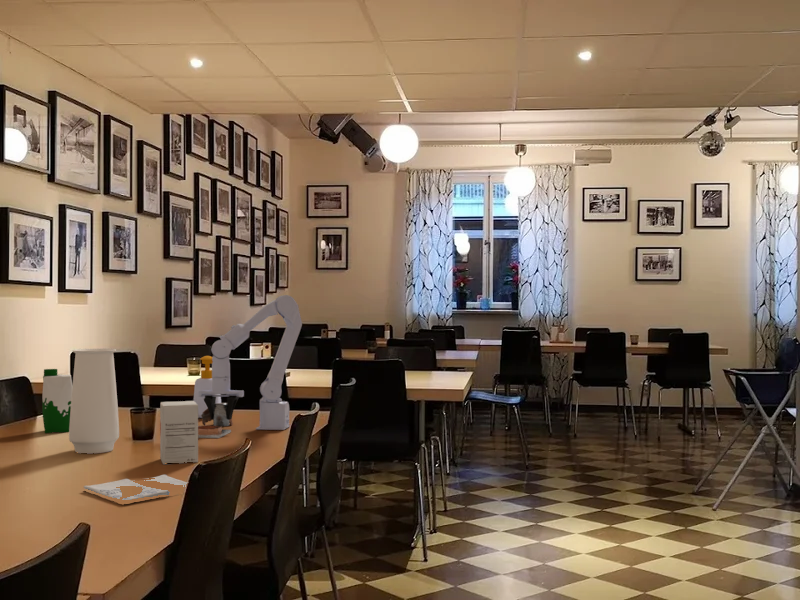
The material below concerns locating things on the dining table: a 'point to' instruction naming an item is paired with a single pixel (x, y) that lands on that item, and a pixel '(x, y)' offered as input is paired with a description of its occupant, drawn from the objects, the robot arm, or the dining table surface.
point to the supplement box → (178, 432)
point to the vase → (94, 402)
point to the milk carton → (56, 401)
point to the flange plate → (211, 431)
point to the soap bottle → (204, 385)
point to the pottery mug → (207, 417)
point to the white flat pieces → (112, 491)
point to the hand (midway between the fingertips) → (221, 419)
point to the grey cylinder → (220, 414)
